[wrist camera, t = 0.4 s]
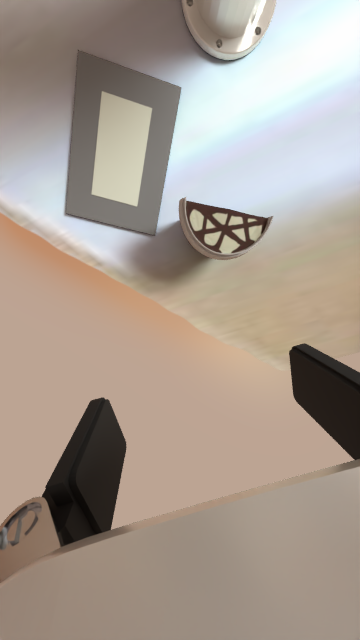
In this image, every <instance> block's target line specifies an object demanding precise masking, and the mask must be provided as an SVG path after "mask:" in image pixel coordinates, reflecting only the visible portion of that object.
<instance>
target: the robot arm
mask: <svg viewBox="0 0 360 640" xmlns="http://www.w3.org/2000/svg"><path fill="white" fill-rule="evenodd" d="M275 6H276V0H182V8H183V13H184V16H185V20H186V23H187V25H188V28H189V30H190V32H191V34H192V36H193V37H194V39H195V41H196V42H197V43H198V44H199V45H200V47H201V48H202V49H203V50H205V51H206V52H207V53H209V54H210V55H212V56H214V57H216V58H219V59H224V60H234V59H238V58H241V57H243V56H245V55H247V54H248V53H250V52H251V51H252V50H253V49H254V48H255V47H256V46H257V45H258V44H259V43H260V41H261V40H262V38H263V37H264V35H265V33H266V31H267V29H268V27H269V24H270V22H271V19H272V17H273V14H274V10H275ZM289 355H290V365H291V375H292V386H293V395H294V398H295V400H296V401H297V402H298V404H299V405H300V406H301V407H302V408H304V410H305V411H306V412H307V413H308V414H309V415H310V416H311V417H312V418H313V419H315V421H316V422H317V423H318V424H319V425H321V427H322V428H323V429H324V430H325V431H326V432H327V433H328V434H329V435H330V436H332V437H333V439H334V440H336V442H338V444H339V445H340V446H341V447H342V448H343V449H344V450H345V451H346V452H347V453H348V454H349V455H350V456H351V457H352V458H353V459H355V460H354V461H350V462H347V463H343V464H340V465H336V466H332V467H329V468H325V469H321V470H318V471H314V472H311V473H307V474H304V475H300V476H296V477H292V478H289V479H285V480H282V481H278V482H275V483H272V484H268V485H264V486H261V487H257V488H253V489H250V490H246V491H243V492H240V493H236V494H232V495H229V496H225V497H222V498H218V499H215V500H211V501H208V502H204V503H201V504H197V505H194V506H190V507H187V508H183V509H180V510H176V511H173V512H170V513H167V514H163V515H159V516H156V517H152V518H149V519H145V520H142V521H139V522H135V523H132V524H129V525H126V526H122V527H119V528H116V529H113V530H111V525H112V520H113V515H114V510H115V504H116V499H117V494H118V489H119V484H120V478H121V473H122V468H123V463H124V457H125V453H126V441H125V438H124V436H123V433H122V431H121V429H120V426H119V424H118V422H117V419H116V416H115V414H114V411H113V409H112V406H111V404H110V402H109V400H108V399H107V400H105V399H104V398H99V399H95V400H92V401H90V403H89V405H88V407H87V409H86V411H85V413H84V415H83V416H82V418H81V420H80V422H79V424H78V426H77V428H76V430H75V432H74V433H73V435H72V437H71V439H70V441H69V443H68V445H67V447H66V449H65V451H64V453H63V454H62V457H61V458H60V460H59V462H58V464H57V466H56V468H55V470H54V472H53V473H52V475H51V477H50V479H49V481H48V483H47V485H46V489H45V491H44V493H43V495H42V497H35V498H32V499H30V500H28V501H26V502H25V503H23V504H22V505H20V506H19V507H17V508H16V509H15V510H14V511H13V512H12V513H11V514H10V515H9V516H8V517H7V518H6V519H5V520H4V522H3V523H2V524H1V526H0V640H360V373H359V372H357V371H356V370H354V369H352V368H350V367H348V366H346V365H344V364H343V363H341V362H339V361H337V360H335V359H333V358H331V357H330V356H328V355H326V354H324V353H322V352H320V351H318V350H317V349H315V348H313V347H311V346H309V345H307V344H300V345H297V346H293V347H292V350H290V352H289Z"/></svg>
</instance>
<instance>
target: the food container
mask: <svg viewBox="0 0 360 640" xmlns="http://www.w3.org/2000/svg"><path fill="white" fill-rule="evenodd" d="M179 218H180V223H181V227H182V229H183V232H184V234H185V236H186V238H187V240H188V242H189V243H190V245H191V246H192V247H193V248H194V249H195V250H197V251H198V252H200V253H201V254H203V255H205V256H207V257H209V258H213V259H218V260H228V259H233V258H237V257H239V256H241V255H243V254H245V253H247V252H248V251H250V250H251V249H252V248H253V247H254V246H256V245H257V244H258V243H259V242H260V241H261V239H262V238H263V237H264V235H265V234H266V232H267V230H268V228H269V226H270V224H271V222H272V219H273V216H271V217H268V218H264V217H258V216H254V215H249V214H245V213H241V212H237V211H234V210H230V209H225V208H219V207H214V206H208V205H204V204H199V203H195V202H190V201H186V197H185V198H182V199H181V200H180V201H179Z"/></svg>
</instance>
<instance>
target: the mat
mask: <svg viewBox="0 0 360 640" xmlns="http://www.w3.org/2000/svg"><path fill="white" fill-rule="evenodd" d="M180 92H181V87H179V86H176V85H173V84H170V83H168V82H165V81H162V80H159V79H156V78H154V77H151V76H148V75H145V74H143V73H140V72H137V71H134V70H132V69H129V68H126V67H123V66H121V65H118V64H115V63H112V62H110V61H107V60H104V59H101V58H99V57H96V56H93V55H90V54H88V53H85V52H82V51H79V50H78V58H77V71H76V85H75V98H74V112H73V125H72V138H71V152H70V165H69V179H68V192H67V205H66V213H67V214H70V215H74V216H78V217H82V218H86V219H90V220H94V221H98V222H102V223H106V224H110V225H114V226H118V227H122V228H126V229H130V230H134V231H138V232H142V233H146V234H150V235H154V236H155V233H156V227H157V221H158V216H159V210H160V205H161V199H162V193H163V188H164V182H165V177H166V171H167V165H168V160H169V154H170V148H171V143H172V137H173V132H174V126H175V120H176V115H177V109H178V104H179V98H180Z"/></svg>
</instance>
